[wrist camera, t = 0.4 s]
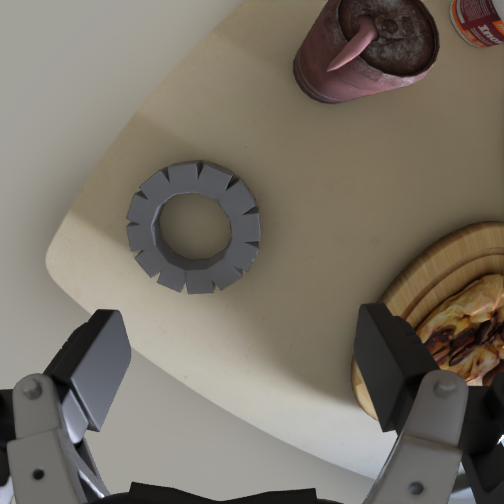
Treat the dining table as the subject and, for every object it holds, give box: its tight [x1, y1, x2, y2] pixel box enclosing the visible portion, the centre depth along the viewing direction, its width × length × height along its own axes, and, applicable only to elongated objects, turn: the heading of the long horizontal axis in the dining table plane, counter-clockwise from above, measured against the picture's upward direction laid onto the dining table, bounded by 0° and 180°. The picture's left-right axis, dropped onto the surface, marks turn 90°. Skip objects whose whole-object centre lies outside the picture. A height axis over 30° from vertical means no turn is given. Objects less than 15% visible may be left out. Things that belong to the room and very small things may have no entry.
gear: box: [126, 160, 261, 294], centre depth 27 cm, size 12×12×2 cm
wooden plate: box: [351, 221, 504, 421], centre depth 30 cm, size 32×32×8 cm
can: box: [293, 0, 440, 104], centre depth 17 cm, size 6×6×14 cm
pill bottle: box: [450, 0, 504, 48], centre depth 15 cm, size 6×6×11 cm
